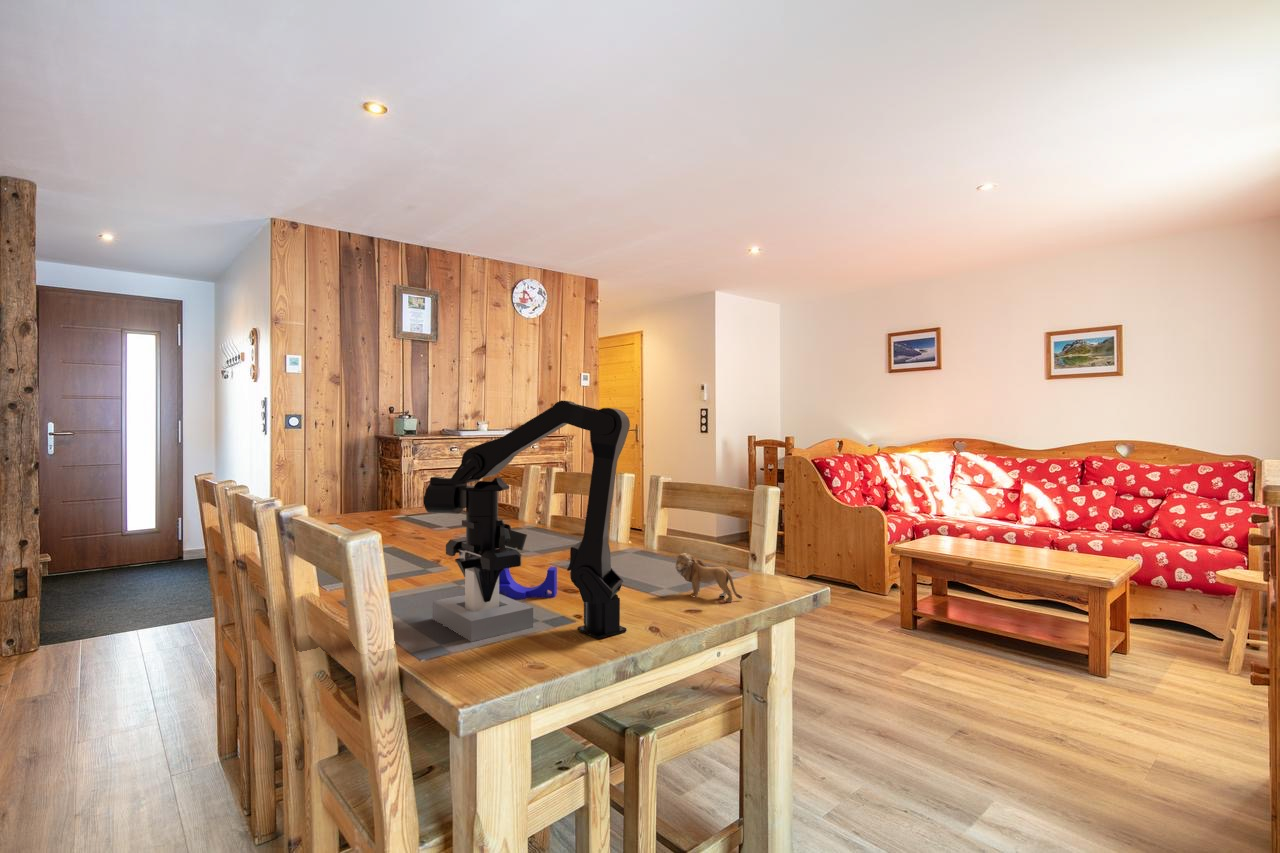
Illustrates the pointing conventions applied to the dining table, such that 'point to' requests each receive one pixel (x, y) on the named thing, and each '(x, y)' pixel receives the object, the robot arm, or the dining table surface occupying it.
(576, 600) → the dining table surface
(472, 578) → the plug
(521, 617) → the socket block
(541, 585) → the blue pipe saddle bracket
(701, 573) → the lion figurine
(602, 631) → the robot arm
